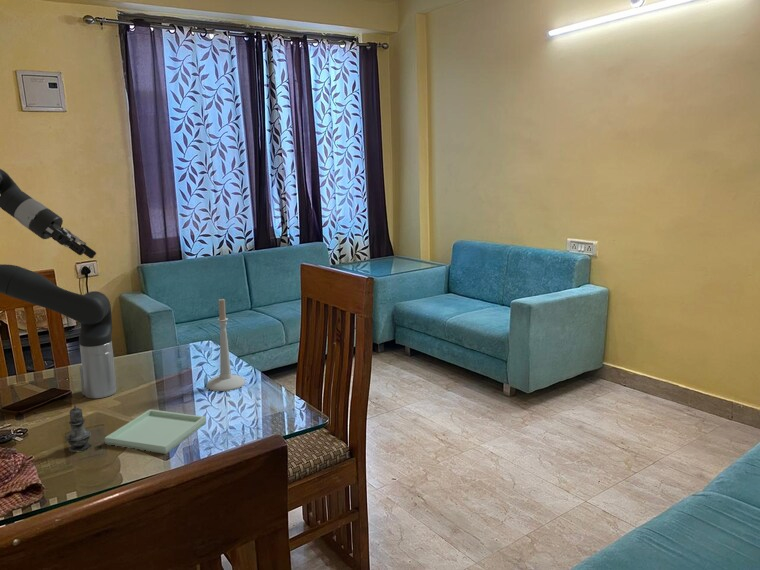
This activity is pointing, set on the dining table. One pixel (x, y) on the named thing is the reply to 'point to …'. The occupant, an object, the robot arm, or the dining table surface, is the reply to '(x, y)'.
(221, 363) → the candlestick
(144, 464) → the dining table surface
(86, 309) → the robot arm
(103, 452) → the dining table surface
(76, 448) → the dark grey chess piece
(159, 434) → the tray
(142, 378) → the dining table surface
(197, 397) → the dining table surface
